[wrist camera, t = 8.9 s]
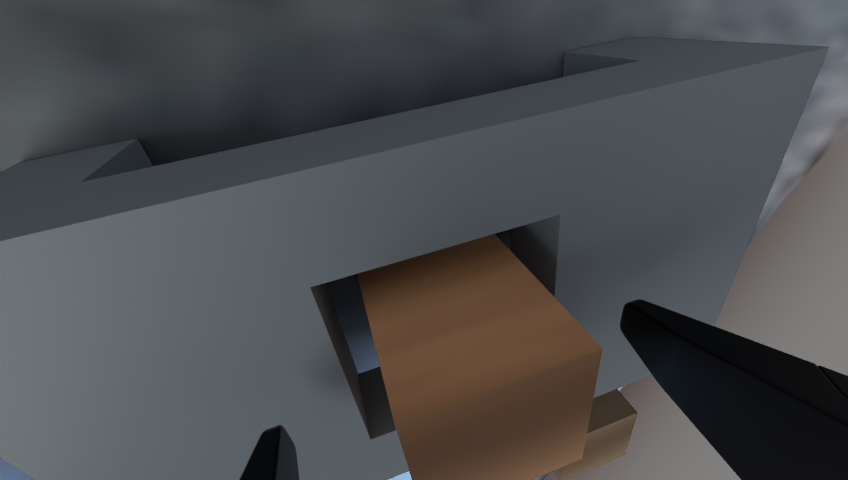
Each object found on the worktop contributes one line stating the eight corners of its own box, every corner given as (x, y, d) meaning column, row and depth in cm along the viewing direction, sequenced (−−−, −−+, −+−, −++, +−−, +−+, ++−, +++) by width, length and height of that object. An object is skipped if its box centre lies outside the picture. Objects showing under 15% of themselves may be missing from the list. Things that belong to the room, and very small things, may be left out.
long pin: (451, 260, 16) (582, 458, 9) (363, 287, 16) (426, 525, 8) (441, 177, 14) (602, 348, 7) (339, 203, 14) (394, 425, 6)
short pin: (569, 381, 24) (624, 454, 20) (514, 402, 24) (560, 482, 20) (574, 339, 22) (637, 412, 18) (513, 361, 22) (565, 442, 17)
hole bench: (599, 270, 20) (702, 354, 15) (202, 400, 16) (162, 568, 11) (635, 36, 14) (829, 46, 9) (19, 162, 10) (-237, 297, 5)
